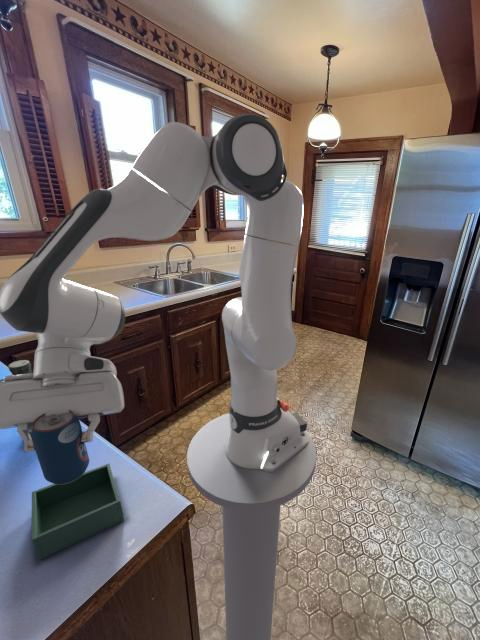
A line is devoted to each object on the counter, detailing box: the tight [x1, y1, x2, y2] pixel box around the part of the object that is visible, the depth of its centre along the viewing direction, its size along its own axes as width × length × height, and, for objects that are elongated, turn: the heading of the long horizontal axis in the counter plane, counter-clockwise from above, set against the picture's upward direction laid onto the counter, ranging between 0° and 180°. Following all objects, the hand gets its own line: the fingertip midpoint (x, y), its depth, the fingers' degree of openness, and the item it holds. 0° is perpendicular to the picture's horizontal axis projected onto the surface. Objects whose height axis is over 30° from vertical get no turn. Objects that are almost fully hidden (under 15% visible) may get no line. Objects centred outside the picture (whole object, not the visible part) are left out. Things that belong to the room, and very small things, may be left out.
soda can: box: [31, 410, 90, 485], centre depth 55 cm, size 7×7×12 cm
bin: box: [31, 463, 125, 561], centre depth 59 cm, size 13×11×5 cm
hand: (60, 446), depth 54 cm, fingers closed on soda can, 7 cm apart
